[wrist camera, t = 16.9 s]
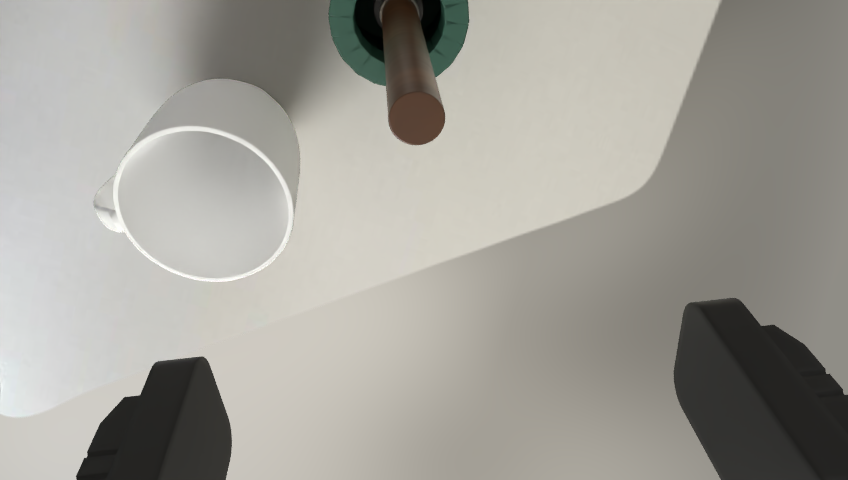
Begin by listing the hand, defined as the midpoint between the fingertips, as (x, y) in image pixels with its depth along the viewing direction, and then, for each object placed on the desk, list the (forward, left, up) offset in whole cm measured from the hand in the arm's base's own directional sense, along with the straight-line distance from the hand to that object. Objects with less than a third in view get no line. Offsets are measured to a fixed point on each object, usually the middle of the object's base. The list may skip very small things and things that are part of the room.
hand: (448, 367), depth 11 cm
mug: (+12, +8, -33) cm, 36 cm away
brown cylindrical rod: (0, 0, -32) cm, 32 cm away
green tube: (0, 0, -33) cm, 33 cm away
